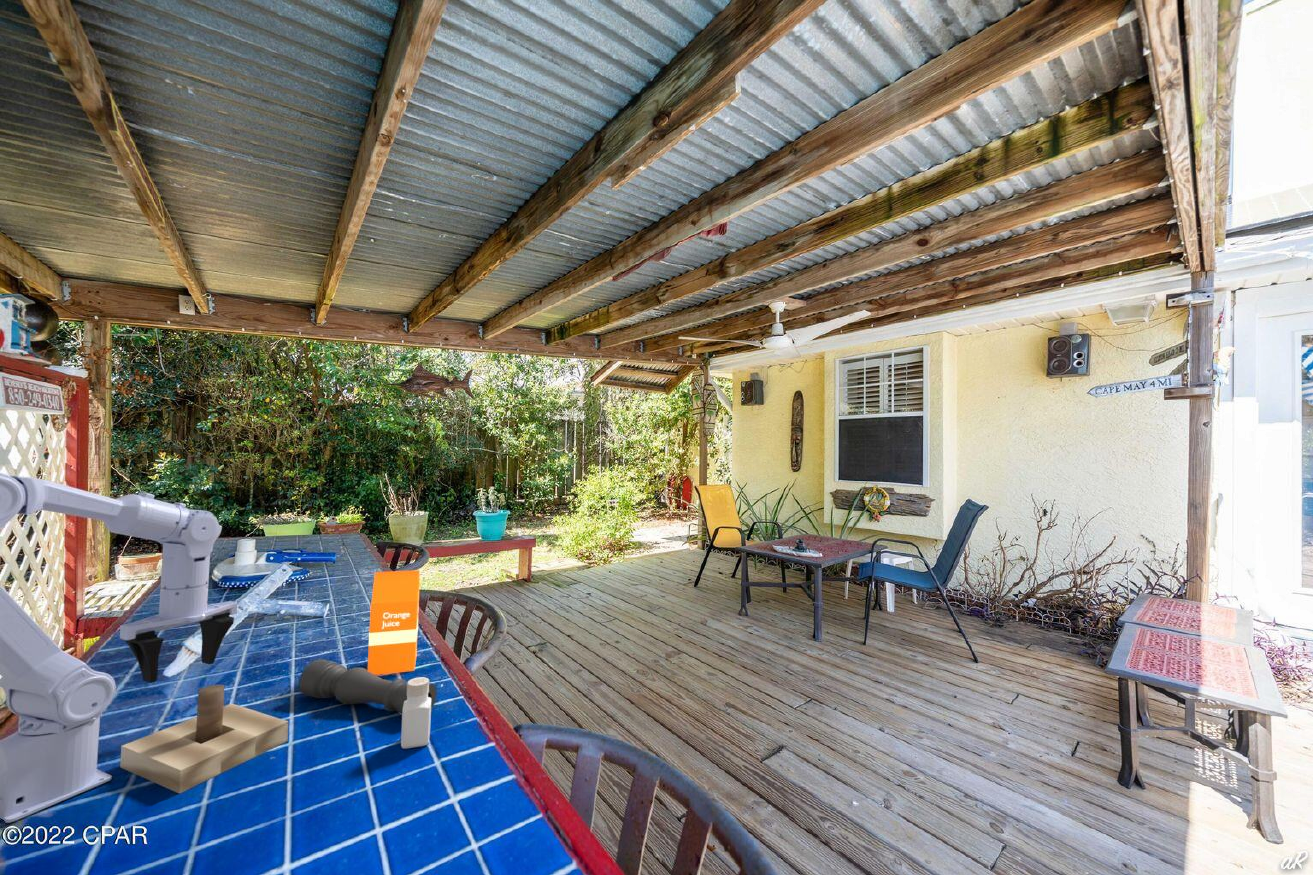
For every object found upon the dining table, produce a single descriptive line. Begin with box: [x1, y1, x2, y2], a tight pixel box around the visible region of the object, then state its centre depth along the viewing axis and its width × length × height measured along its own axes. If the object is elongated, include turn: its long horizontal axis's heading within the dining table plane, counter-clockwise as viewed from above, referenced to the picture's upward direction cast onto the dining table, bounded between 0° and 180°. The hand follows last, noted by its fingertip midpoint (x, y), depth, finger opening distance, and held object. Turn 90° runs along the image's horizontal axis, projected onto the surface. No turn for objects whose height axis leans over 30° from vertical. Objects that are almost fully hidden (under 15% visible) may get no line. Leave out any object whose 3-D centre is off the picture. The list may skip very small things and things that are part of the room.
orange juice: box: [367, 569, 420, 676], centre depth 112 cm, size 8×9×20 cm
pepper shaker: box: [400, 676, 432, 749], centre depth 83 cm, size 4×4×10 cm
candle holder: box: [298, 658, 438, 716], centre depth 95 cm, size 6×6×25 cm
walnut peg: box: [195, 684, 226, 744], centre depth 79 cm, size 3×3×10 cm
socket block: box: [119, 702, 289, 794], centre depth 79 cm, size 14×14×3 cm
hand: (180, 671), depth 83 cm, fingers open, 7 cm apart
